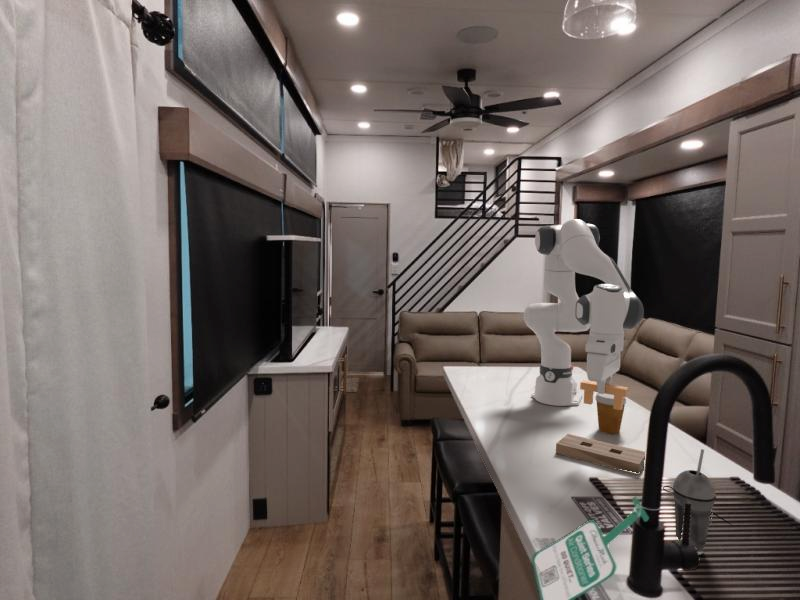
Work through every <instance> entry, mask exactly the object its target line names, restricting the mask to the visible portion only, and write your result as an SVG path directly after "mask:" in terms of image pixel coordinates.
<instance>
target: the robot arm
mask: <svg viewBox="0 0 800 600" xmlns="http://www.w3.org/2000/svg"><path fill="white" fill-rule="evenodd" d="M600 239H601V237H600V231H599V228H598V227H597V225H595V224H592V223H586V222H585V221H584V220H582V219H578V218H576V219H575V218H572V219H569V220H567V221H566V222H564V223H562V224H553V225H550V224H549V225H544V226H541V227H539V228H538V229H537V230H536V233H535V237H534V245H535V247H536V251H538V253H539V254H541V255H545V260H544V280H543V281H544V282H543V287H544V289H545V290H546V292H547V293H549V294H551V295H553V296H555V297H556V298H558V299H559V300H560V302H557V303H556V302H536V303H529V304H528V305H527V307H526V308H525V309H524V312H523V321H524V323H525V325H526V327H528V328H529V329H530V330H531V331H533V333H534V334H535V336H536V337H537V339H538V341H539V344H540V354H541V355H540V356H541V357H540V358H541V360H540V361H541V362H540V365H539V375H538V376H537V377H536V378H535V386H534V393H531V394H530V396H531V398H532V399H535V401H536V402H539V403H541V404H544V405H548V406H556V407H557V406H558V407H564V406H565V407H566V406H579V405H580V403H581V401H582V398H583V394H582V393H579V392H577V391H578V390H577V388H578V387H577V386H578V385H577V382H576V380H575V379H574V378H573V370H574V365H572V362H571V361H572V349H571V346H570V345H569V343H567V342H566V341H565V340H563V339H561V338H559V337H558V336H556V334H555V333H556V332H563V333H565V332H566V333H567V332H569V333H580V332H586V331H588V330H589V336H588V340H587V342H586V344H585V348H584V350H585V352H586V353H587V354H586V376H587V379H588V380H587V381H591V382H597V387H598V391H597V392H596V393H600V394H604V393H605V392H606V387H605V384H609V385H611V383H612V379H613V375H614V374H616V373H617V372H619V371H620V368H621V352H623V351H624V344H625V342H624V341H625V330H624V329H627V330H632V329H634V328H635V327H636V326H638V325H639V324H640V323H641V322H642V320H643V319H644V314H645V309H644V305H643V302H642V301H641V300H640V298H639V297H638V296H637V295H636V294H635V292H634V291H633V290H632V289H631V286H630V285H629V283H628V281H627V280H626V278H625V276H624V275H623V273H622V271H621V269H620V268H619V266H618V264H617V263H616V262H615V260H614V259H613V258H612V257H611V256H609V255H608V254H606V253H604V251H602V249H600V247H599V243H600V241H601V240H600ZM576 273H577V274H579V275H584V276H590V277H591V278H592V277H593V278H595V279H598V280H600V281H602V282H604V283H599V284H596V285H594V286H593V290H592V291H590V293H588V294H583V295H581V297H579V295H578V293H577V291H576V290H577V289H576Z"/></svg>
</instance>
